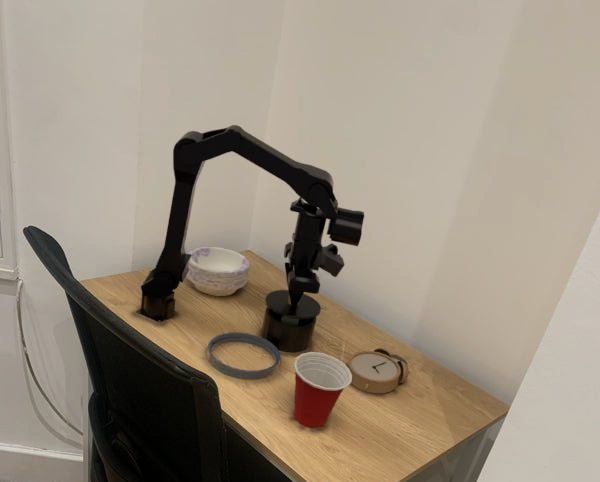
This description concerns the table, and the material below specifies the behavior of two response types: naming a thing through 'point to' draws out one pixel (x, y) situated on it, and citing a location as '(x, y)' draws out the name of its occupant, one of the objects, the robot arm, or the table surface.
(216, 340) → the blue-grey round rimmed part
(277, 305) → the tin lid
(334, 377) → the plastic cup
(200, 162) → the robot arm
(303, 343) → the tin
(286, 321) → the green block
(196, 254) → the paper bowls
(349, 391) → the table surface
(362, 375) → the alarm clock
